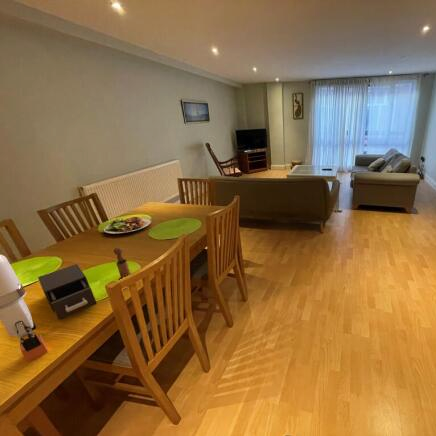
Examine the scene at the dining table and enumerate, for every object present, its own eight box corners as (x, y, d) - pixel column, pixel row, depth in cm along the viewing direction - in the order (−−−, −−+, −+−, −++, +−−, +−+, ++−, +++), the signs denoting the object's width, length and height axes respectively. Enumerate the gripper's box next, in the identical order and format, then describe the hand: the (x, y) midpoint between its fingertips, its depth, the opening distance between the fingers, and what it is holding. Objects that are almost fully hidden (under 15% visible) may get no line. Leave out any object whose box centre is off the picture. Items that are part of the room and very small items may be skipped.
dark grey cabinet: (93, 294, 102) (85, 276, 98) (53, 311, 93) (43, 292, 89) (84, 281, 111) (76, 263, 107) (46, 295, 102) (37, 276, 98)
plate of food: (94, 233, 158) (91, 224, 155) (132, 218, 182) (130, 210, 180) (125, 239, 150) (123, 230, 147) (161, 222, 174) (159, 214, 172)
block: (27, 362, 74) (21, 351, 72) (25, 353, 76) (19, 343, 75) (47, 351, 77) (42, 341, 75) (45, 344, 80) (39, 333, 78)
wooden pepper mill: (123, 288, 106) (112, 253, 99) (116, 283, 109) (104, 249, 102) (139, 280, 111) (129, 246, 104) (131, 276, 114) (121, 242, 108)
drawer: (100, 308, 93) (93, 292, 90) (61, 326, 85) (53, 309, 82) (87, 289, 104) (81, 274, 101) (52, 304, 96) (44, 288, 93)
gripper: (-16, 290, 71) (12, 332, 77) (-15, 318, 60) (17, 364, 67) (21, 277, 76) (44, 318, 83) (27, 301, 66) (53, 346, 72)
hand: (32, 339), depth 75 cm, fingers open, 9 cm apart
